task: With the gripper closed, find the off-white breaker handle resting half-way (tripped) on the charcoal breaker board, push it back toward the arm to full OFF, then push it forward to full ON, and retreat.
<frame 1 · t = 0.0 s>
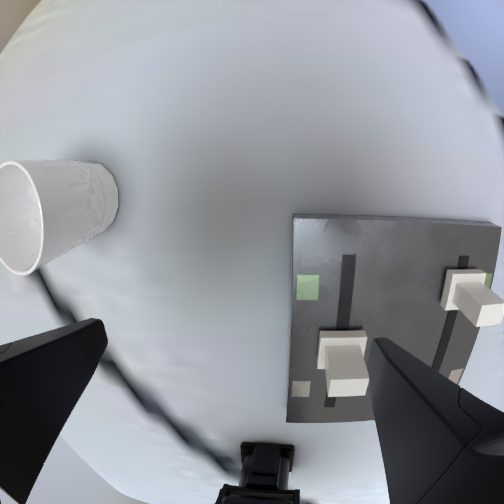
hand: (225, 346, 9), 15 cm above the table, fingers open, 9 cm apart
tripped breaker: (344, 365, 19), point 5 cm above the table, slide at 0.0 cm
white cup: (92, 197, 24), on the table
breaker board: (390, 329, 23), on the table
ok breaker: (475, 299, 17), point 5 cm above the table, slide at 5.0 cm
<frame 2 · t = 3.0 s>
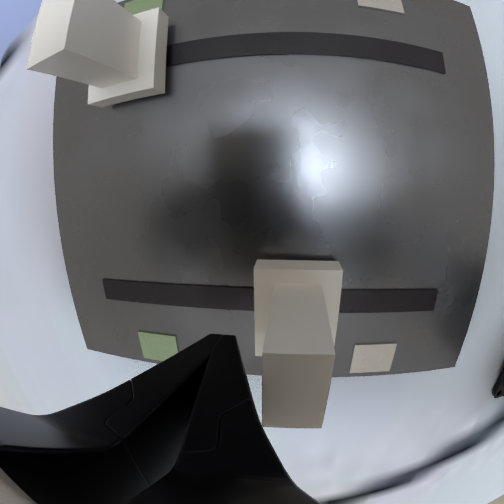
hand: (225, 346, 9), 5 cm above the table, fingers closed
tripped breaker: (296, 340, 9), point 5 cm above the table, slide at -1.3 cm, touching gripper
breaker board: (266, 169, 12), on the table
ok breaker: (98, 42, 7), point 5 cm above the table, slide at 5.0 cm
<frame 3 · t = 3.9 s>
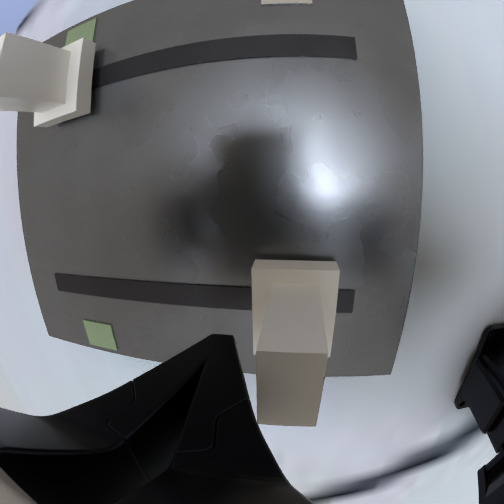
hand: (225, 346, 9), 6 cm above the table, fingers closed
tripped breaker: (292, 339, 9), point 5 cm above the table, slide at -5.1 cm, touching gripper
breaker board: (183, 174, 13), on the table
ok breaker: (32, 77, 8), point 5 cm above the table, slide at 5.0 cm
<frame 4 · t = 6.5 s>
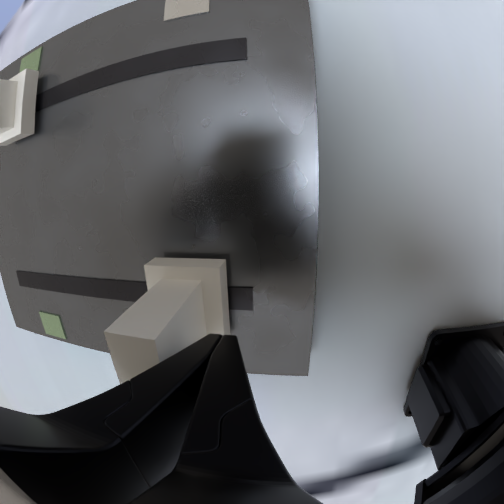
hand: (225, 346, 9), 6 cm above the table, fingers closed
tripped breaker: (170, 330, 10), point 5 cm above the table, slide at -5.1 cm, touching gripper
breaker board: (110, 181, 14), on the table
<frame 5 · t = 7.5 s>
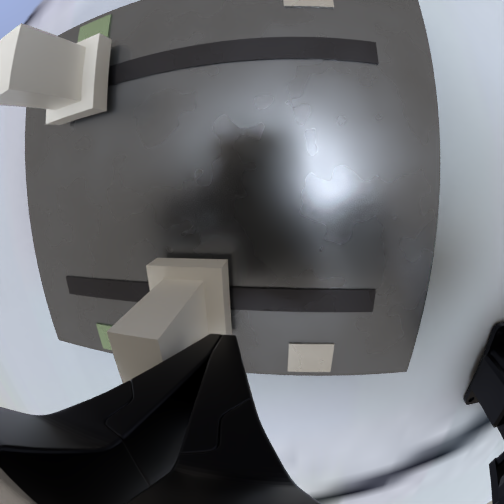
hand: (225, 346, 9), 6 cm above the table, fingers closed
tripped breaker: (172, 330, 10), point 5 cm above the table, slide at -0.1 cm, touching gripper
breaker board: (202, 174, 13), on the table
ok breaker: (46, 72, 8), point 5 cm above the table, slide at 5.0 cm
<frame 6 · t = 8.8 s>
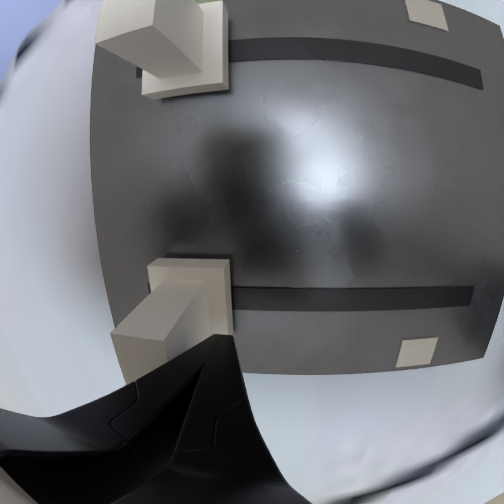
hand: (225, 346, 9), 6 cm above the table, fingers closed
tripped breaker: (175, 331, 10), point 5 cm above the table, slide at 5.2 cm, touching gripper
breaker board: (321, 172, 12), on the table
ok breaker: (165, 28, 7), point 5 cm above the table, slide at 5.0 cm
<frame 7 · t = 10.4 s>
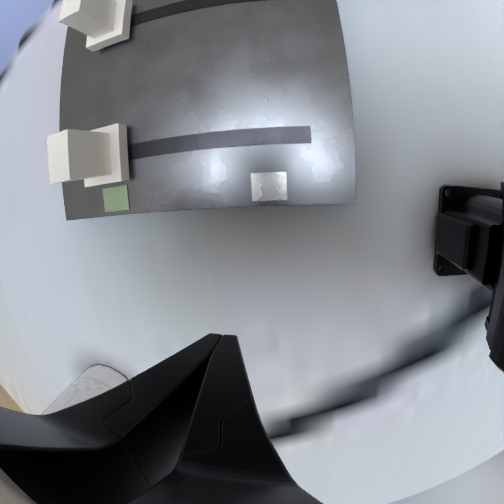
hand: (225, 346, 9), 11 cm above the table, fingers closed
tripped breaker: (85, 156, 14), point 5 cm above the table, slide at 5.1 cm
white cup: (113, 388, 26), on the table
breaker board: (189, 76, 17), on the table
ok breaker: (93, 13, 11), point 5 cm above the table, slide at 5.0 cm
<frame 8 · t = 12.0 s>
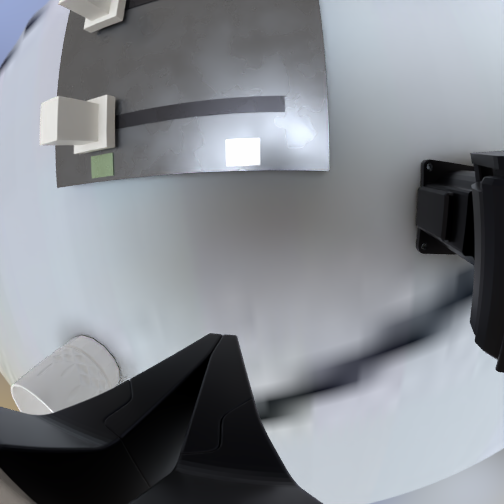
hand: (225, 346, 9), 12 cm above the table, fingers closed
tripped breaker: (75, 123, 14), point 5 cm above the table, slide at 5.1 cm
white cup: (95, 360, 26), on the table
breaker board: (176, 54, 17), on the table
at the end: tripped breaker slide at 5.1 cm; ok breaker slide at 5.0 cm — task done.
